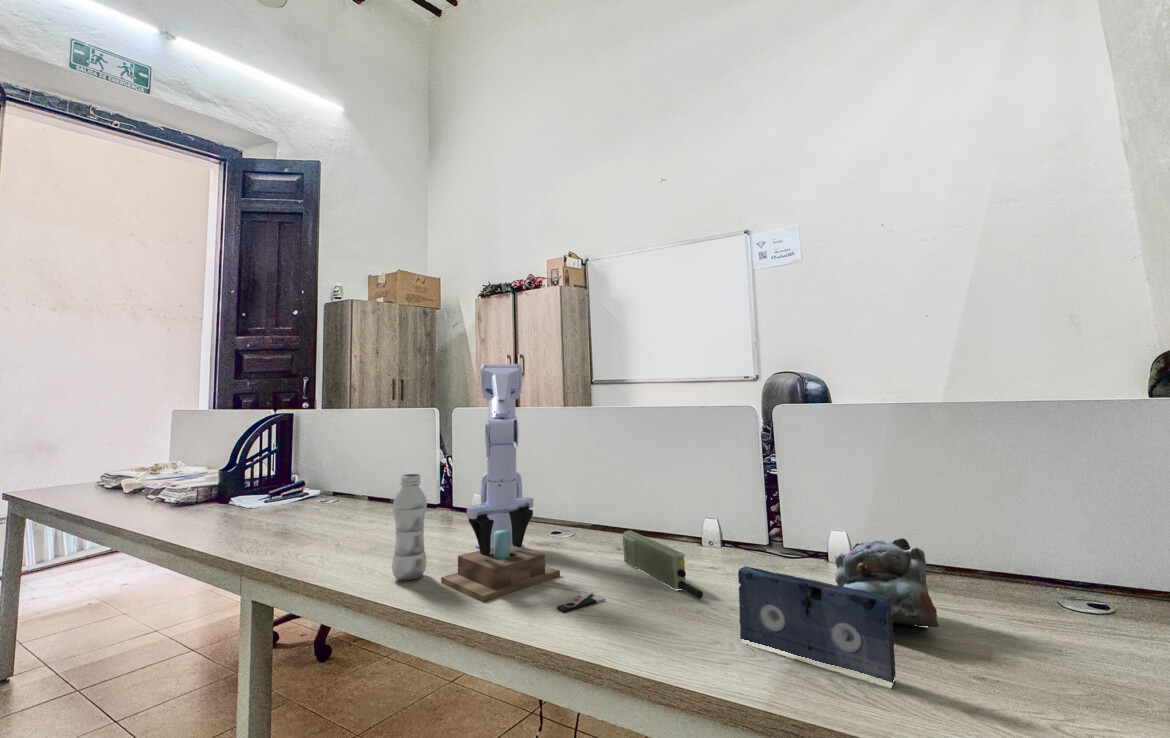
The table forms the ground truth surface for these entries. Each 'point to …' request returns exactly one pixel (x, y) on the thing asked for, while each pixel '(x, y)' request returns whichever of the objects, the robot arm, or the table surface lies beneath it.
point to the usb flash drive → (580, 602)
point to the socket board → (494, 593)
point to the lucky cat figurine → (890, 578)
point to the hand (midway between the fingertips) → (501, 550)
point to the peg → (501, 544)
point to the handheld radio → (657, 561)
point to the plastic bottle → (409, 529)
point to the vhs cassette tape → (818, 621)
